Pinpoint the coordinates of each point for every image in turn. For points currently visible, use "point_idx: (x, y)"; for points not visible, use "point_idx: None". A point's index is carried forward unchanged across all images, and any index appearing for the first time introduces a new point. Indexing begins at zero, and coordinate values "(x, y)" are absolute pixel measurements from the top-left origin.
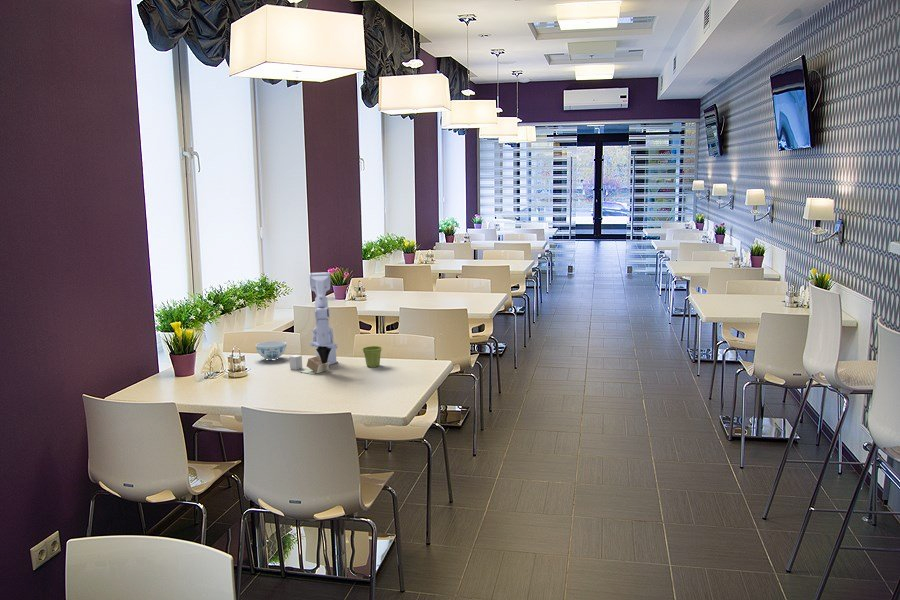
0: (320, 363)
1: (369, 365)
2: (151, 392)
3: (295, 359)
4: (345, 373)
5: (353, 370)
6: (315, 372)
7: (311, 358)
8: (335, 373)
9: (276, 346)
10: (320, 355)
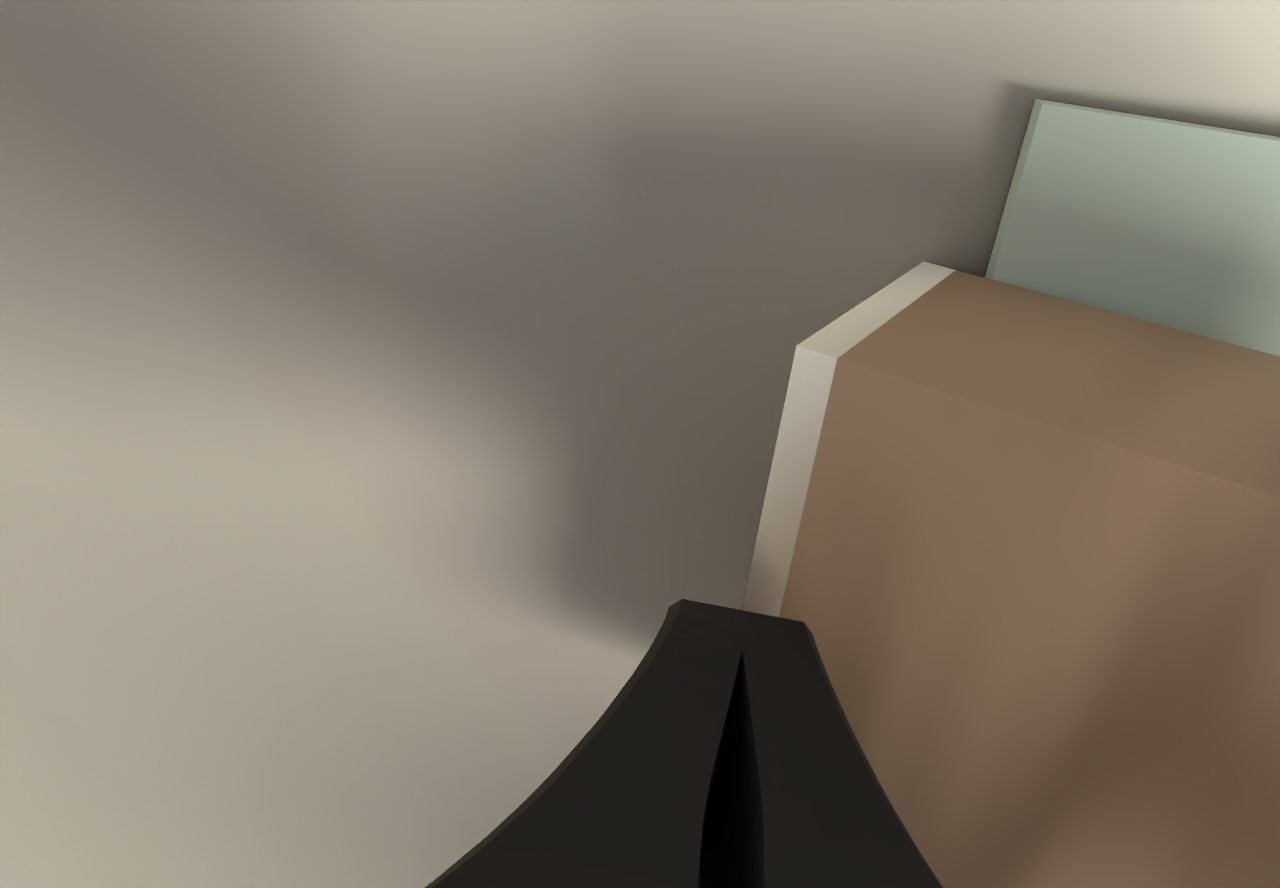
0: (882, 596)
1: None
2: None
3: None
4: (67, 512)
5: (126, 820)
6: (1019, 283)
7: None
8: (334, 443)
9: None
10: (847, 877)
